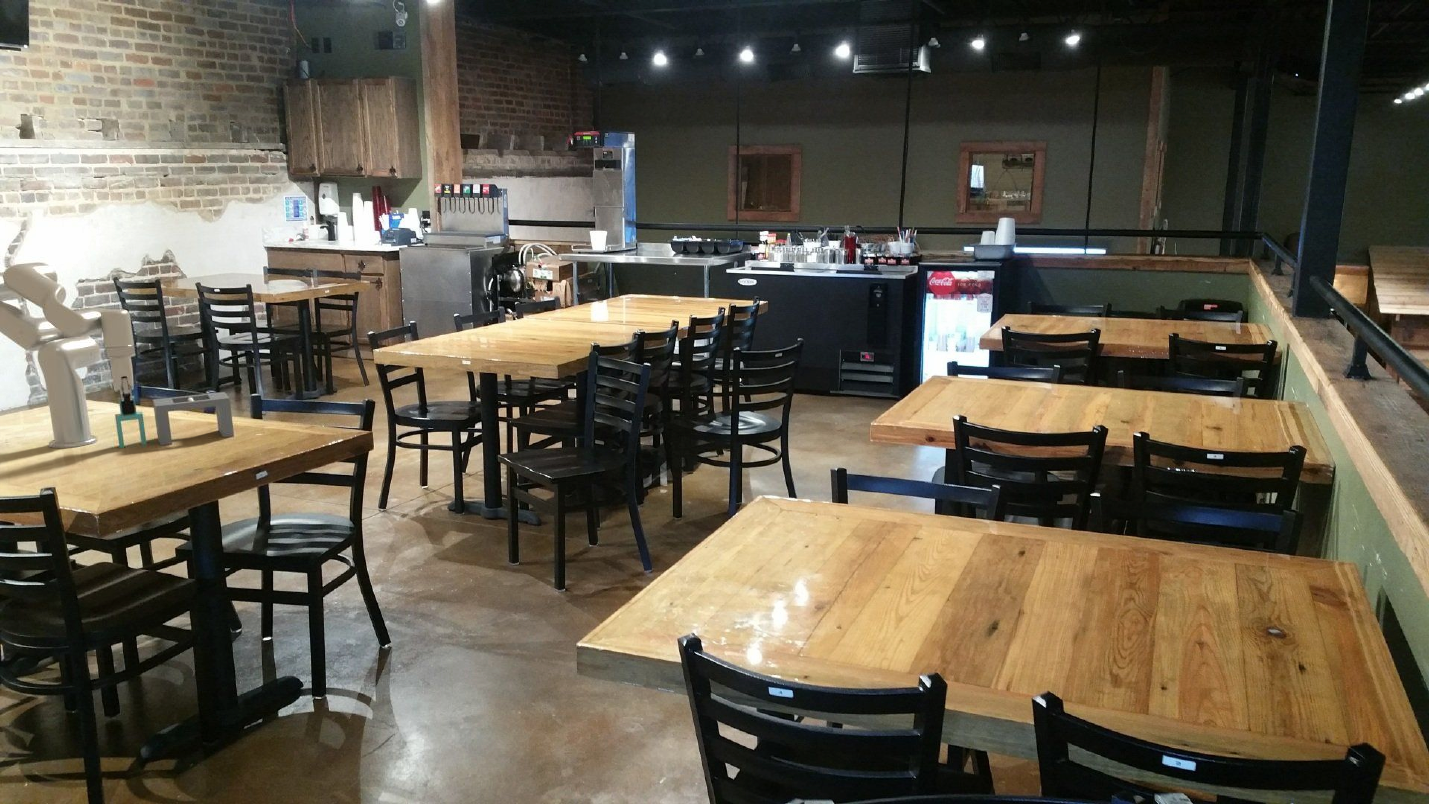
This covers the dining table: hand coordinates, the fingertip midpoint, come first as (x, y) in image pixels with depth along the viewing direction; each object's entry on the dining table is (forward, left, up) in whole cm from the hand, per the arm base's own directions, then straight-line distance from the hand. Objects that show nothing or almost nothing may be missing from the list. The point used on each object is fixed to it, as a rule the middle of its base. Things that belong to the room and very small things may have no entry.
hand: (128, 412), depth 304 cm
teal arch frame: (0, 0, -10) cm, 10 cm away
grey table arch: (0, +17, -10) cm, 20 cm away
